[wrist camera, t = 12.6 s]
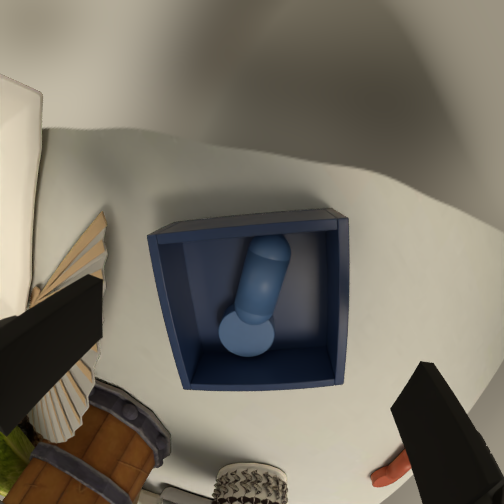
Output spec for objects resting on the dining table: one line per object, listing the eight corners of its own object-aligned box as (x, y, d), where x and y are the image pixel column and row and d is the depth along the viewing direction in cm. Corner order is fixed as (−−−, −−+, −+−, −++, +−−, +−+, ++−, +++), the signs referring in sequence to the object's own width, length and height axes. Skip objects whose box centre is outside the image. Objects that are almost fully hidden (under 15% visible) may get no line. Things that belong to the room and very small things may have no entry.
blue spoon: (246, 220, 18) (241, 227, 16) (304, 236, 18) (308, 245, 16) (217, 338, 21) (210, 358, 18) (266, 351, 21) (265, 372, 18)
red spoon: (402, 441, 23) (408, 457, 21) (426, 439, 23) (432, 454, 21) (365, 479, 26) (368, 494, 23) (388, 478, 26) (391, 492, 23)
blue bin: (332, 207, 18) (348, 217, 14) (333, 347, 21) (343, 384, 16) (173, 221, 19) (146, 235, 15) (198, 354, 22) (183, 389, 17)
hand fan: (10, 354, 25) (41, 466, 17) (5, 353, 24) (35, 466, 16) (99, 186, 20) (164, 355, 13) (91, 182, 20) (152, 355, 12)
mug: (195, 484, 28) (162, 601, 9) (106, 464, 29) (58, 556, 10) (150, 387, 23) (56, 566, 4) (47, 367, 25) (-50, 472, 5)
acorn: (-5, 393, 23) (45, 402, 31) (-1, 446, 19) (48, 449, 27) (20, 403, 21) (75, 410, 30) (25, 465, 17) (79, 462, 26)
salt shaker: (154, 520, 28) (97, 491, 29) (164, 496, 32) (107, 469, 34) (149, 521, 25) (86, 488, 26) (160, 495, 29) (98, 464, 30)
